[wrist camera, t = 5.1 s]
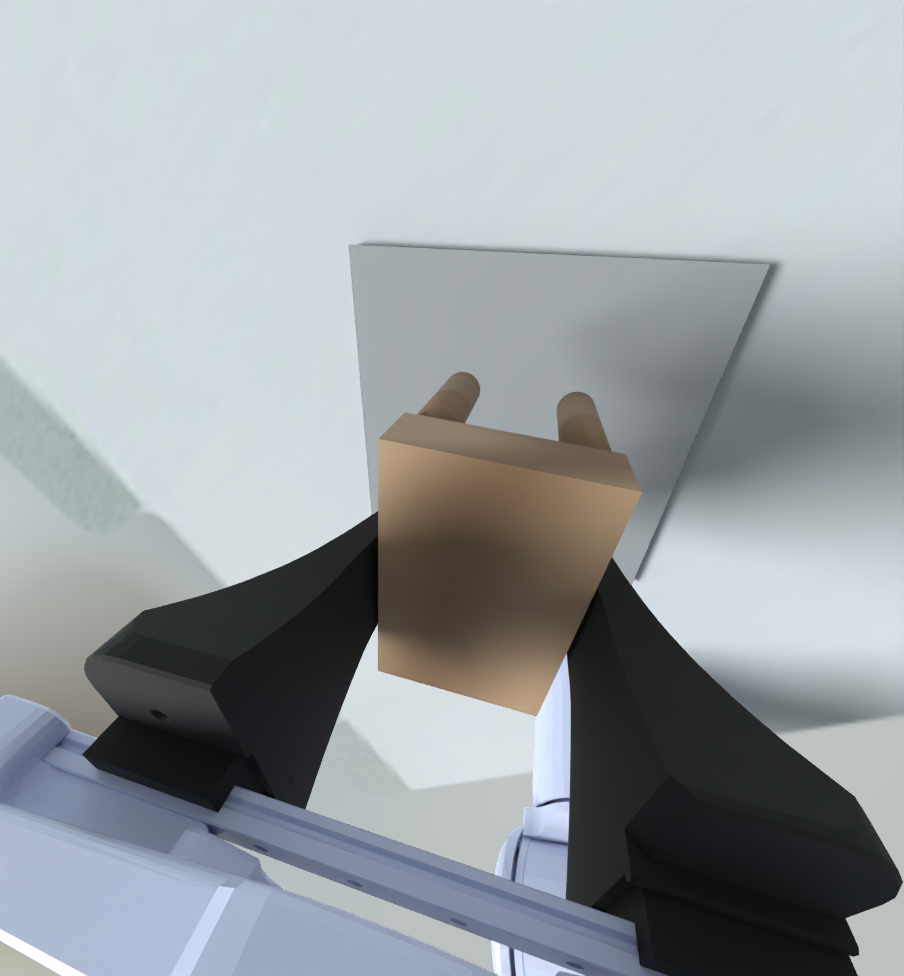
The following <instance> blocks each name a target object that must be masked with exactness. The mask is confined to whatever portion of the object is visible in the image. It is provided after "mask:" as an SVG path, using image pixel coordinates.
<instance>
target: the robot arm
mask: <svg viewBox="0 0 904 976" xmlns="http://www.w3.org/2000/svg"><path fill="white" fill-rule="evenodd" d="M377 624H378V511H377V512H376V513H374V514H373V515H371V516H370V517H368V518H367V519H365V520H364V521H362V522H361V523H359V524H358V525H356V526H355V527H353V528H352V529H350V530H348V531H347V532H345V533H344V534H342V535H340V536H339V537H337V538H335V539H333V540H332V541H330V542H328V543H327V544H325V545H323V546H322V547H320V548H318V549H316V550H314V551H312V552H311V553H309V554H307V555H305V556H303V557H301V558H299V559H296V560H294V561H292V562H290V563H288V564H286V565H284V566H281V567H279V568H277V569H274V570H272V571H269V572H267V573H264V574H262V575H259V576H257V577H254V578H252V579H250V580H247V581H244V582H241V583H239V584H236V585H233V586H230V587H227V588H224V589H221V590H218V591H215V592H212V593H208V594H205V595H202V596H198V597H195V598H192V599H188V600H184V601H180V602H176V603H172V604H169V605H165V606H161V607H157V608H153V609H149V610H145V611H143V612H141V613H140V614H139V615H138V616H137V617H136V618H134V619H133V620H132V621H131V622H129V623H128V624H127V625H126V626H125V627H124V628H122V629H121V630H120V631H119V632H118V633H116V634H115V635H114V636H113V637H112V638H110V639H109V640H108V641H107V642H106V643H104V644H103V645H102V646H101V647H100V648H99V649H98V650H96V651H95V652H94V653H93V654H91V655H90V656H89V657H88V658H87V659H86V662H85V668H84V670H85V673H86V676H87V678H88V679H89V681H90V682H91V684H92V685H93V686H94V688H95V689H96V690H97V691H98V692H99V693H100V695H101V696H102V697H103V698H104V699H105V701H106V702H107V703H108V704H109V705H110V707H111V708H112V709H113V710H114V711H115V712H116V714H117V715H118V716H119V717H118V718H117V719H116V720H115V721H114V722H113V723H112V724H111V725H110V726H109V727H108V728H107V729H106V730H105V731H104V732H103V733H102V734H101V735H100V736H99V737H98V738H96V737H93V736H90V735H87V734H84V733H81V732H78V731H75V730H73V729H71V726H70V724H69V723H68V722H67V721H66V720H65V719H64V718H63V717H62V716H61V715H60V714H58V713H57V712H55V711H54V710H52V709H50V708H48V707H46V706H43V705H40V704H37V703H34V702H31V701H28V700H25V699H23V698H19V697H16V696H14V695H4V696H2V697H1V698H0V940H1V941H2V942H4V943H6V944H8V945H9V946H11V947H13V948H15V949H17V950H18V951H20V952H22V953H23V954H25V955H27V956H29V957H31V958H32V959H34V960H36V961H38V962H39V963H41V964H43V965H45V966H47V967H48V968H50V969H52V970H54V971H56V972H57V973H59V974H61V975H62V976H858V975H857V973H856V971H855V968H854V966H853V964H852V962H851V959H850V957H849V955H850V956H857V955H859V948H858V945H857V943H856V941H855V938H854V936H853V934H852V932H851V930H850V927H849V925H848V923H847V921H846V919H845V918H847V917H850V916H852V915H855V914H858V913H861V912H863V911H866V910H869V909H872V908H874V907H877V906H880V905H883V904H885V903H886V902H888V901H890V900H892V899H894V898H895V897H896V895H897V893H898V891H899V889H900V887H901V885H902V883H903V881H902V879H901V876H900V873H899V871H898V869H897V868H896V866H895V864H894V862H893V860H892V859H891V857H890V855H889V853H888V852H887V850H886V848H885V846H884V845H883V843H882V841H881V840H880V838H879V836H878V834H877V833H876V831H875V829H874V827H873V826H872V824H871V822H870V821H869V819H868V817H867V816H866V814H865V812H864V811H863V809H862V807H861V806H860V804H859V803H858V801H857V800H856V798H855V796H853V795H852V794H851V793H849V792H848V791H847V790H845V789H844V788H843V787H842V786H840V785H839V784H838V783H837V782H835V781H834V780H833V779H831V778H830V777H829V776H828V775H826V774H825V773H824V772H822V771H821V770H820V769H819V768H817V767H816V766H815V765H813V764H812V763H811V762H809V761H808V760H807V759H806V758H804V757H803V756H802V755H800V754H799V753H798V752H797V751H795V750H794V749H793V748H791V747H790V746H789V745H788V744H786V743H785V742H784V741H783V740H782V739H780V738H779V737H778V736H777V735H776V734H774V733H773V732H772V731H771V730H770V729H769V728H767V727H766V726H765V725H764V724H763V723H761V722H760V721H759V720H758V719H757V718H756V717H754V716H753V715H752V714H751V713H750V712H749V711H747V710H746V709H745V708H744V707H743V706H742V705H741V704H740V703H738V702H737V701H736V700H735V699H734V698H733V697H732V696H731V695H730V694H728V693H727V692H726V691H725V690H724V689H723V688H722V687H721V686H720V685H719V684H718V683H717V682H716V681H715V680H714V679H713V678H712V677H711V676H710V675H709V674H707V673H706V672H705V671H704V670H703V669H702V668H701V667H700V666H699V665H698V664H697V663H696V662H695V661H694V660H693V659H692V658H691V657H690V656H689V655H688V653H687V652H686V651H685V650H684V649H683V648H682V647H681V646H680V645H679V644H678V643H677V641H676V640H675V639H674V638H673V637H672V636H671V635H670V634H669V633H668V632H667V630H666V629H665V628H664V627H663V626H662V625H661V623H660V622H659V621H658V620H657V619H656V617H655V616H654V615H653V614H652V612H651V611H650V610H649V609H648V607H647V606H646V605H645V603H644V602H643V601H642V599H641V598H640V597H639V595H638V594H637V593H636V591H635V590H634V588H633V587H632V586H631V584H630V583H629V581H628V580H627V579H626V577H625V576H624V574H623V573H622V571H621V570H620V568H619V567H618V565H617V563H616V562H615V560H614V559H613V557H612V558H611V560H610V562H609V564H608V566H607V568H606V570H605V573H604V575H603V577H602V579H601V581H600V583H599V585H598V588H597V590H596V592H595V594H594V596H593V598H592V600H591V602H590V605H589V607H588V609H587V611H586V613H585V615H584V617H583V619H582V622H581V624H580V626H579V628H578V630H577V632H576V634H575V636H574V639H573V641H572V643H571V645H570V647H569V649H568V651H567V653H566V656H565V658H564V660H563V662H562V664H561V666H560V668H559V671H558V673H557V675H556V677H555V679H554V681H553V683H552V685H551V688H550V690H549V692H548V694H547V696H546V698H545V700H544V702H543V705H542V707H541V709H540V711H539V713H538V715H537V716H535V737H534V765H533V800H534V807H525V808H524V823H523V828H521V827H516V828H514V829H513V830H512V831H511V832H510V834H509V836H508V838H507V840H506V841H505V842H504V844H503V846H502V848H501V850H500V853H499V856H498V860H497V865H496V870H495V875H494V874H491V873H488V872H485V871H482V870H479V869H476V868H473V867H470V866H468V865H465V864H462V863H459V862H456V861H453V860H450V859H447V858H444V857H441V856H439V855H436V854H433V853H430V852H427V851H424V850H421V849H418V848H415V847H412V846H409V845H406V844H404V843H401V842H398V841H395V840H392V839H389V838H386V837H383V836H380V835H378V834H375V833H372V832H369V831H366V830H363V829H360V828H357V827H354V826H351V825H349V824H345V823H343V822H340V821H337V820H334V819H331V818H328V817H325V816H322V815H319V814H317V813H314V812H310V811H308V810H305V809H306V806H307V802H308V800H309V797H310V794H311V791H312V788H313V785H314V782H315V779H316V776H317V773H318V770H319V768H320V765H321V762H322V759H323V756H324V753H325V750H326V747H327V745H328V742H329V739H330V737H331V734H332V731H333V728H334V726H335V723H336V720H337V718H338V715H339V712H340V710H341V707H342V704H343V702H344V699H345V697H346V694H347V692H348V689H349V686H350V684H351V681H352V679H353V676H354V674H355V672H356V669H357V667H358V664H359V662H360V659H361V657H362V654H363V652H364V650H365V648H366V646H367V643H368V641H369V639H370V637H371V635H372V633H373V632H374V630H375V628H376V626H377ZM220 838H221V839H220ZM222 839H223V840H222ZM224 840H226V841H229V842H232V843H234V844H237V845H239V846H242V847H245V848H247V849H250V850H253V851H255V852H258V853H261V854H263V855H266V856H269V857H271V858H274V859H277V860H279V861H282V862H284V863H287V864H290V865H293V866H295V867H298V868H300V869H303V870H306V871H308V872H311V873H314V874H317V875H319V876H322V877H325V878H327V879H330V880H332V881H335V882H338V883H341V884H343V885H346V886H348V887H351V888H354V889H356V890H359V891H362V892H364V893H367V894H370V895H372V896H375V897H378V898H380V899H383V900H386V901H388V902H391V903H393V904H396V905H399V906H402V907H404V908H407V909H410V910H412V911H415V912H417V913H420V914H423V915H426V916H428V917H431V918H433V919H436V920H439V921H441V922H444V923H447V924H449V925H452V926H455V927H457V928H460V929H463V930H465V931H468V932H471V933H473V934H476V935H479V936H481V937H484V938H487V939H490V940H491V943H492V958H493V966H494V973H493V972H490V971H488V970H486V969H483V968H481V967H479V966H477V965H474V964H472V963H470V962H468V961H465V960H464V959H461V958H459V957H456V956H455V955H452V954H450V953H448V952H445V951H443V950H441V949H439V948H436V947H434V946H431V945H429V944H427V943H424V942H422V941H419V940H417V939H414V938H412V937H410V936H407V935H405V934H403V933H400V932H398V931H395V930H393V929H390V928H387V927H385V926H382V925H380V924H377V923H375V922H372V921H370V920H367V919H365V918H362V917H359V916H357V915H354V914H352V913H349V912H346V911H343V910H341V909H338V908H335V907H332V906H330V905H327V904H324V903H321V902H318V901H316V900H313V899H310V898H307V897H304V896H301V895H298V894H295V893H292V892H289V891H286V890H283V889H282V888H281V887H280V886H278V885H277V884H276V883H275V882H273V881H272V880H271V879H270V878H269V877H268V876H267V875H266V874H265V872H264V871H263V870H262V869H261V866H260V861H259V859H258V858H256V857H254V856H252V855H250V854H248V853H246V852H245V851H243V850H241V849H238V848H237V847H235V846H233V845H231V844H229V843H228V842H226V841H224Z"/></svg>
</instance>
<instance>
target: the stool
mask: <svg viewBox="0 0 904 976" xmlns="http://www.w3.org/2000/svg"><path fill="white" fill-rule="evenodd" d="M479 395H480V385H479V382H478V381H477V379H476V378H475V377H474V376H473V375H472V374H470V373H467V372H458V373H455V374H453V375H452V376H451V377H450V378H449V379H448V380H447V381H446V382H445V383H444V385H443V386H442V387H441V388H440V389H439V390H438V391H437V392H436V393H435V395H434V396H433V397H432V398H431V399H430V400H429V401H428V402H427V404H426V405H425V406H424V407H423V408H422V409H421V410H420V411H419V412H418V414H412V413H407V412H405V413H404V414H403V415H402V416H401V417H400V418H399V419H398V420H397V421H396V422H395V423H394V424H393V425H392V426H391V427H390V428H389V429H388V430H387V431H386V432H385V433H384V434H383V435H382V436H381V437H380V438H379V439H378V671H381V672H385V673H388V674H391V675H395V676H398V677H402V678H405V679H409V680H412V681H416V682H419V683H423V684H426V685H430V686H433V687H437V688H440V689H444V690H447V691H451V692H454V693H457V694H461V695H464V696H468V697H471V698H475V699H478V700H482V701H485V702H489V703H492V704H496V705H499V706H503V707H506V708H510V709H513V710H516V711H520V712H523V713H527V714H530V715H534V716H537V715H538V713H539V711H540V709H541V707H542V705H543V702H544V700H545V698H546V696H547V694H548V692H549V690H550V688H551V685H552V683H553V681H554V679H555V677H556V675H557V673H558V671H559V668H560V666H561V664H562V662H563V660H564V658H565V656H566V653H567V651H568V649H569V647H570V645H571V643H572V641H573V639H574V636H575V634H576V632H577V630H578V628H579V626H580V624H581V622H582V619H583V617H584V615H585V613H586V611H587V609H588V607H589V605H590V602H591V600H592V598H593V596H594V594H595V592H596V590H597V588H598V585H599V583H600V581H601V579H602V577H603V575H604V573H605V570H606V568H607V566H608V564H609V562H610V560H611V558H612V556H613V553H614V551H615V549H616V547H617V545H618V543H619V541H620V539H621V536H622V534H623V532H624V530H625V528H626V526H627V524H628V522H629V519H630V517H631V515H632V513H633V511H634V509H635V507H636V504H637V502H638V500H639V498H640V496H641V494H642V490H641V488H640V486H639V483H638V481H637V479H636V477H635V474H634V472H633V470H632V467H631V465H630V463H629V460H628V458H627V456H626V454H623V453H617V452H612V450H611V447H610V445H609V442H608V439H607V436H606V434H605V431H604V428H603V426H602V423H601V420H600V417H599V415H598V412H597V409H596V406H595V404H594V401H593V399H592V398H591V397H590V396H589V395H588V394H586V393H583V392H572V393H569V394H567V395H565V396H564V397H563V398H562V399H561V400H560V401H559V403H558V405H557V410H556V412H557V425H558V438H559V441H554V440H549V439H544V438H538V437H533V436H528V435H523V434H517V433H512V432H507V431H502V430H496V429H491V428H486V427H481V426H475V425H470V424H465V422H466V420H467V419H468V417H469V415H470V413H471V411H472V409H473V407H474V405H475V403H476V401H477V400H478V398H479Z"/></svg>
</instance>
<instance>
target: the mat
mask: <svg viewBox="0 0 904 976" xmlns="http://www.w3.org/2000/svg"><path fill="white" fill-rule="evenodd" d="M349 255H350V266H351V278H352V290H353V301H354V313H355V325H356V336H357V348H358V359H359V371H360V383H361V394H362V406H363V418H364V429H365V441H366V452H367V464H368V476H369V487H370V499H371V510H372V515H373V514H374V513H376V512H377V511H378V439H379V438H380V437H381V436H382V435H383V434H384V433H385V432H386V431H387V430H388V429H389V428H390V427H391V426H392V425H393V424H394V423H395V422H396V421H397V420H398V419H399V418H400V417H401V416H402V415H403V414H404V413H405V412H407V413H412V414H418V412H419V411H420V410H421V409H422V408H423V407H424V406H425V405H426V404H427V402H428V401H429V400H430V399H431V398H432V397H433V396H434V395H435V393H436V392H437V391H438V390H439V389H440V388H441V387H442V386H443V385H444V383H445V382H446V381H447V380H448V379H449V378H450V377H451V376H452V375H453V374H455V373H458V372H467V373H470V374H472V375H473V376H474V377H475V378H476V379H477V381H478V382H479V385H480V395H479V398H478V400H477V401H476V403H475V405H474V407H473V409H472V411H471V413H470V415H469V417H468V419H467V420H466V422H465V424H470V425H475V426H481V427H486V428H491V429H496V430H502V431H507V432H512V433H517V434H523V435H528V436H533V437H538V438H544V439H549V440H554V441H559V438H558V425H557V412H556V410H557V405H558V403H559V401H560V400H561V399H562V398H563V397H564V396H565V395H567V394H569V393H572V392H583V393H586V394H588V395H589V396H590V397H591V398H592V399H593V401H594V404H595V406H596V409H597V412H598V415H599V417H600V420H601V423H602V426H603V428H604V431H605V434H606V436H607V439H608V442H609V445H610V447H611V450H612V452H617V453H623V454H626V456H627V458H628V460H629V463H630V465H631V467H632V470H633V472H634V474H635V477H636V479H637V481H638V483H639V486H640V488H641V490H642V494H641V496H640V498H639V500H638V502H637V504H636V507H635V509H634V511H633V513H632V515H631V517H630V519H629V522H628V524H627V526H626V528H625V530H624V532H623V534H622V536H621V539H620V541H619V543H618V545H617V547H616V549H615V551H614V553H613V556H612V557H613V559H614V560H615V562H616V563H617V565H618V567H619V568H620V570H621V571H622V573H623V574H624V576H625V577H626V579H627V580H628V581H629V583H630V584H631V586H632V583H633V581H634V579H635V576H636V574H637V572H638V569H639V567H640V565H641V562H642V560H643V558H644V555H645V553H646V551H647V549H648V546H649V544H650V542H651V539H652V537H653V535H654V532H655V530H656V528H657V525H658V523H659V521H660V518H661V516H662V514H663V512H664V509H665V507H666V505H667V502H668V500H669V498H670V495H671V493H672V491H673V488H674V486H675V484H676V481H677V479H678V477H679V475H680V472H681V470H682V468H683V465H684V463H685V461H686V458H687V456H688V454H689V451H690V449H691V447H692V444H693V442H694V440H695V438H696V435H697V433H698V431H699V428H700V426H701V424H702V421H703V419H704V417H705V414H706V412H707V410H708V407H709V405H710V403H711V401H712V398H713V396H714V394H715V391H716V389H717V387H718V384H719V382H720V380H721V377H722V375H723V373H724V371H725V368H726V366H727V364H728V361H729V359H730V357H731V354H732V352H733V350H734V347H735V345H736V343H737V340H738V338H739V336H740V334H741V331H742V329H743V327H744V324H745V322H746V320H747V317H748V315H749V313H750V310H751V308H752V306H753V303H754V301H755V299H756V297H757V294H758V292H759V290H760V287H761V285H762V283H763V280H764V278H765V276H766V273H767V271H768V269H769V266H770V264H753V263H732V262H710V261H689V260H667V259H646V258H625V257H603V256H582V255H560V254H539V253H518V252H496V251H475V250H454V249H432V248H411V247H389V246H368V245H349Z"/></svg>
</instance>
